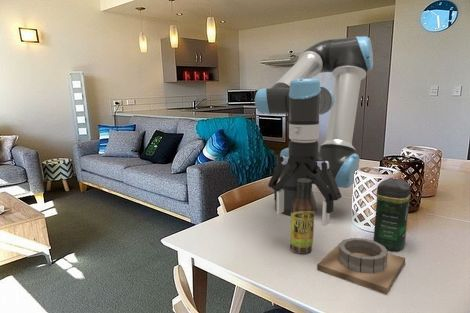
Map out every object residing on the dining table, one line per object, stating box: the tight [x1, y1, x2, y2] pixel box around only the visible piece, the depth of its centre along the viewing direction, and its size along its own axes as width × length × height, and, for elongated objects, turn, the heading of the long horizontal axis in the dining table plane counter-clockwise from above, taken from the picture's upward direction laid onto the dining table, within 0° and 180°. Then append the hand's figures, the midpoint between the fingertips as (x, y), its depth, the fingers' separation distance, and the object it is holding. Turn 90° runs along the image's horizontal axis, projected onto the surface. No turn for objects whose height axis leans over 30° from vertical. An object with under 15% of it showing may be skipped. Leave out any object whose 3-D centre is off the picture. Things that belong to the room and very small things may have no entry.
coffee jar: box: [372, 177, 411, 251], centre depth 90 cm, size 10×8×19 cm
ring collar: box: [316, 237, 406, 295], centre depth 80 cm, size 16×16×5 cm
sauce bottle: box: [289, 178, 316, 254], centre depth 87 cm, size 6×6×20 cm
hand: (301, 218), depth 87 cm, fingers open, 13 cm apart
